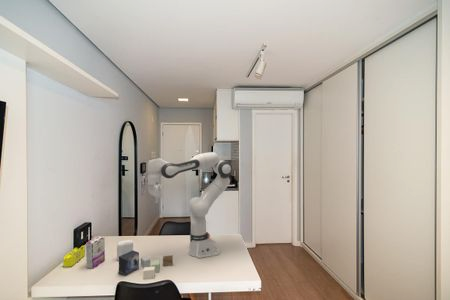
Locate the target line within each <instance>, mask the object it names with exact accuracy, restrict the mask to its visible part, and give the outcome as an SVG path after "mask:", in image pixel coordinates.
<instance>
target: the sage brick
mask: <svg viewBox="0 0 450 300" xmlns="http://www.w3.org/2000/svg"><path fill="white" fill-rule="evenodd" d="M151 262H152V263H151V267H154V266H155V274H156V273H159V272H160V259H154V260H152V261H151Z"/></svg>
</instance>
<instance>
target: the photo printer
mask: <svg viewBox="0 0 450 300" xmlns="http://www.w3.org/2000/svg"><path fill="white" fill-rule="evenodd" d="M132 250H133V251H134V241H133V240H132V239H126V240H121V241H119V242H117V246H116V260H117V262H119V256H121V255H123V254H126V253H128V252H130V251H132Z"/></svg>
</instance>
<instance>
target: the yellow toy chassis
mask: <svg viewBox="0 0 450 300" xmlns="http://www.w3.org/2000/svg"><path fill="white" fill-rule="evenodd" d="M85 246H86V245H81V246H80V247H74V248H73V249H72V250H70V251H69V252H68V253H67V254H66V255H64V257H63V262H62V263H63V267H64V268H69V267H73V266H75V264H76V263H79V261H81V259H83V257H85V256H86V255H85V254H86V247H85Z"/></svg>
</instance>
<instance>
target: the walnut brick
mask: <svg viewBox="0 0 450 300" xmlns="http://www.w3.org/2000/svg"><path fill="white" fill-rule="evenodd" d="M173 257H174V255H163V256H162V267H163V266H164V267H172V266H173V263H174V261H173Z"/></svg>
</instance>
